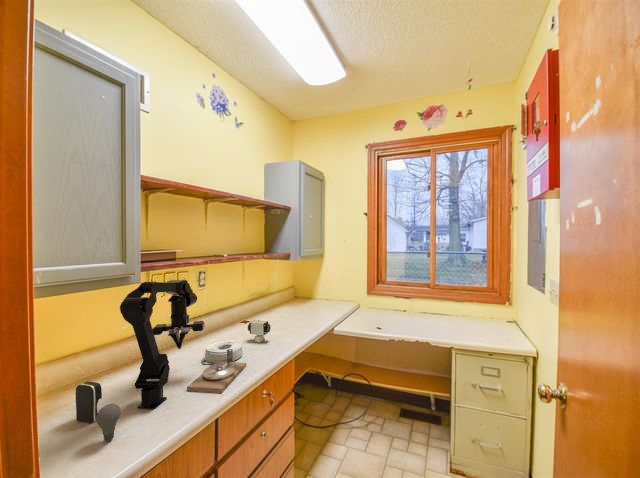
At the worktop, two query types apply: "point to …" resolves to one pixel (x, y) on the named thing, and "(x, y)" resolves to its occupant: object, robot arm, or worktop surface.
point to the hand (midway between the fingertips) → (179, 348)
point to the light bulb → (108, 420)
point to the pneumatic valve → (259, 329)
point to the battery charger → (87, 401)
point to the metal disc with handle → (220, 369)
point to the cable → (222, 351)
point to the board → (218, 385)
